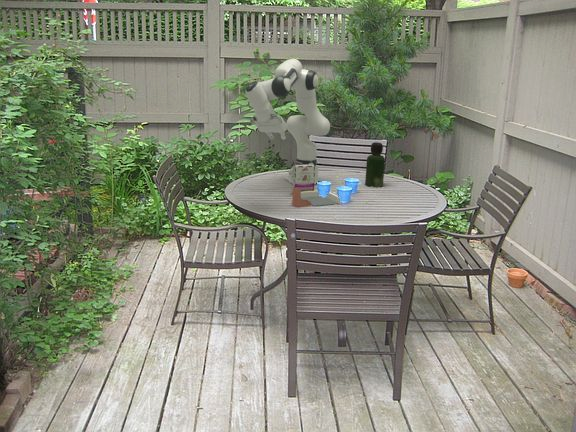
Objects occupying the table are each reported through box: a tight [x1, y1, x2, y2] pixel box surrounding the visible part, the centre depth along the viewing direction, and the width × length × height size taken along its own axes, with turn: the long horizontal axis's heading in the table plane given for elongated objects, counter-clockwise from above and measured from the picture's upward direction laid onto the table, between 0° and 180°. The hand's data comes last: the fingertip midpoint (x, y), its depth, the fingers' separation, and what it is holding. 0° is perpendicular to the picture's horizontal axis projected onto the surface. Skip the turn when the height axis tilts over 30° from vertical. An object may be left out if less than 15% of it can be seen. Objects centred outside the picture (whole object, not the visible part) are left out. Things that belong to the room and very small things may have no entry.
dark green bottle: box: [364, 141, 386, 188], centre depth 370 cm, size 10×10×25 cm
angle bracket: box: [291, 187, 312, 208], centre depth 322 cm, size 5×8×9 cm, turn 116°
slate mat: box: [300, 197, 340, 207], centre depth 332 cm, size 16×14×1 cm
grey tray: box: [301, 190, 342, 205], centre depth 332 cm, size 18×16×4 cm
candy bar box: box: [291, 164, 315, 195], centre depth 343 cm, size 11×5×16 cm, turn 105°
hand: (278, 138), depth 310 cm, fingers open, 8 cm apart
